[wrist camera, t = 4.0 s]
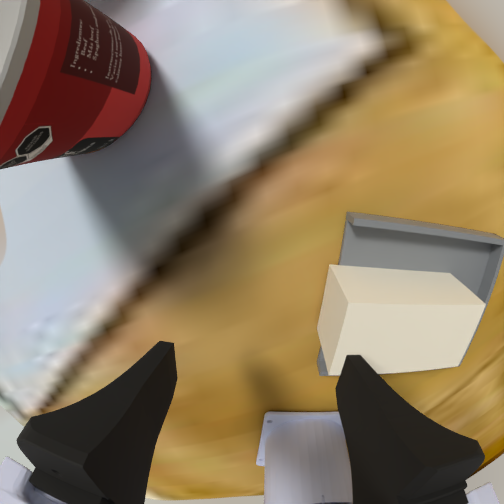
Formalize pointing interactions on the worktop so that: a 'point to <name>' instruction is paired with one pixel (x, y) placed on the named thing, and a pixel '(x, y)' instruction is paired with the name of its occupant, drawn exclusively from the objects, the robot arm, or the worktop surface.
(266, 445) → the robot arm
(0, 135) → the canned food
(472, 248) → the tray
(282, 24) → the worktop surface
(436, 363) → the cream block
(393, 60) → the worktop surface
